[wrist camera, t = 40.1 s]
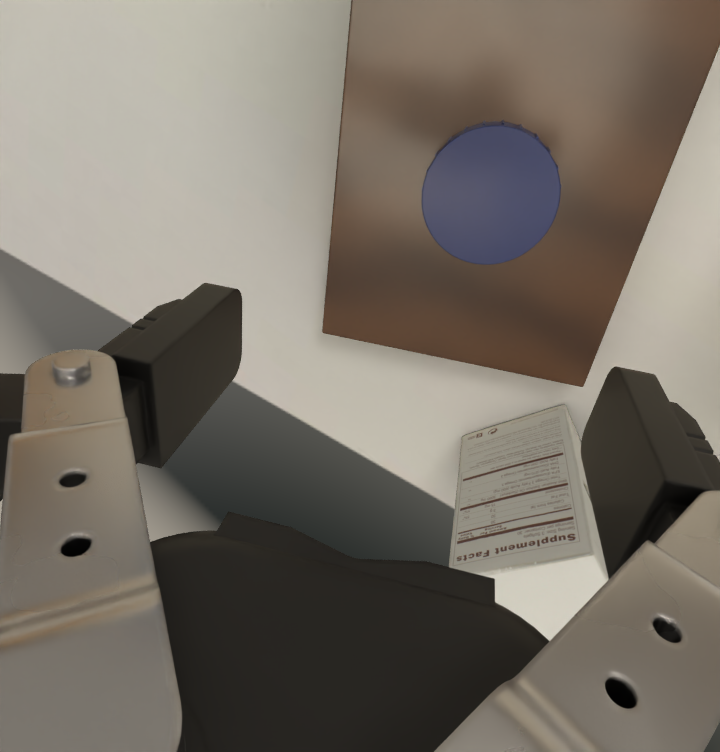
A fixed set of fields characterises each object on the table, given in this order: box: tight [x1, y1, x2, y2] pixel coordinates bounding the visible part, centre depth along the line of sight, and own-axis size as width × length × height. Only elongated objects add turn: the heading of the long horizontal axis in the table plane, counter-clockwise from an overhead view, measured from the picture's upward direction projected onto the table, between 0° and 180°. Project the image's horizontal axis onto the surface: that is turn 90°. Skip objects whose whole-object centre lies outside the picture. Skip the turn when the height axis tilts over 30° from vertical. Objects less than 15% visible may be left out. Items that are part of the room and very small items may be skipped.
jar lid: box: [422, 120, 561, 265], centre depth 27 cm, size 7×7×2 cm
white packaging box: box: [449, 405, 609, 641], centre depth 32 cm, size 7×7×13 cm
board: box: [322, 0, 720, 387], centre depth 28 cm, size 20×16×2 cm
